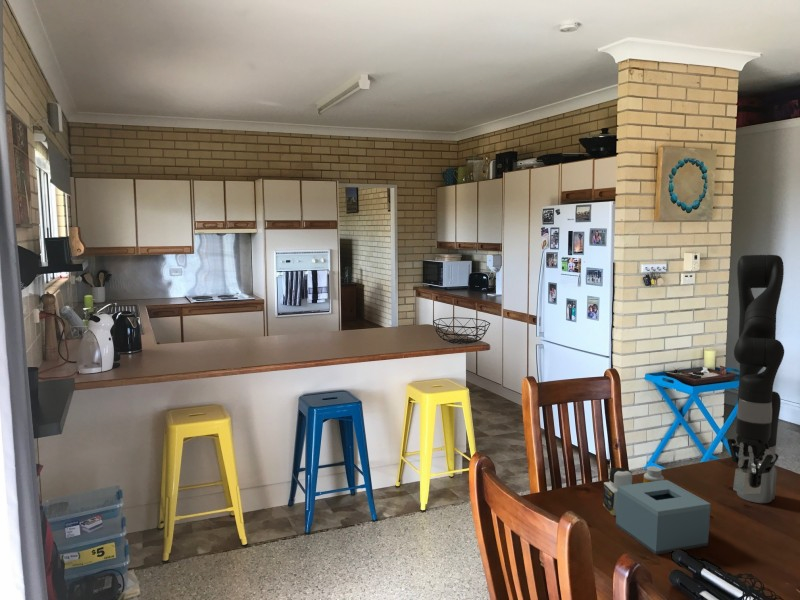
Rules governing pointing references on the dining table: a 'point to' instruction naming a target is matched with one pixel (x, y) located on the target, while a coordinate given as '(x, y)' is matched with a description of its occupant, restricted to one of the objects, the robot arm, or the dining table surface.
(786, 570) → the dining table surface
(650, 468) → the supplement bottle
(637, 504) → the box
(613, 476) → the medicine bottle
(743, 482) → the grey block
